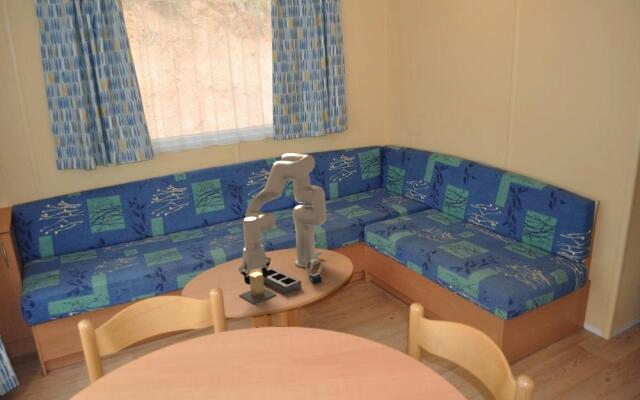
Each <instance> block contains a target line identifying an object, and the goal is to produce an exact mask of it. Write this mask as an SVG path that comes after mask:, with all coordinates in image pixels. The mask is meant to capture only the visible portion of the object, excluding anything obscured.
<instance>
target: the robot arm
mask: <svg viewBox="0 0 640 400" xmlns="http://www.w3.org/2000/svg"><path fill="white" fill-rule="evenodd" d="M315 165H316V161H315V158H314V157H313V155H310V154H309V153H307V154H306V153H296V152H295V153H292V152H290V153H288V152H287V153H284V154H283V155H282V156H281V158H280V160H277V161H275V162H274V163H273V164H272V166H271V169H270V172H269V174H268V177H267V180H266V182H265V186H264V188H263V189H262V190H261V191H260V192H259V193H258V194H256V195H255V197H253V198H252V200H251V201H250V202H249V204H248V207H247V209H246V212H245V215H244V216H245V217H244V219H243V220H242V229H243V238H244V239H243V240H244V248H243V250H242V264H241V265H240V266H239V267H238V269H237V270H238V271H239V273H240V274H241V275H242V276H243V278H244V279H243V281H244V283H245V284H247V285H248V286H250V276H249V274H251V272H254V271H256V270H258V269H260V268H261V267H262V270H261V271H262V274H263V277H265V278H267V274H268V273H267V269H269V266H270V264H271V262H272V258H271V257H269V256H266V251H265V247H264V245H263V242H265V241H264V239H262V232H265V231H269V230H271V229H273V228H274V226H275V225H276V223H277V222H276V221H277V220H276V216H275V215H273V214H272V213H269V212H262V211H260V209H261V208H262V207H263V206H264V205H265V204H266V203H268V202H272V201H273V200H277V199H278V198H280V197H281V196H282V194H283V192H284V189H285V187H286V185H287V184H286V183H287V181H288V180H289V181H292V185H293V187H292V188H293V196H294V197H293V198H294V200H295V202H297V203H299V204H298V205H296V206H295V207H294V208H293V209H292V218H293V222H294V228H295V242H296V243H295V245H296V259H295V260H294V265H295V266H297V267H300V268H306V265H307V263H308V261H310V260H312V259H318V257H320V256H322V254H323V252H322V251H316V248H315V247H316V245H315V243H316V242H315V229H314V227H313V226H322V225H324V224H325V222H326V219H327V205H326V195H325V194H326V193H325V191H324V189H323V187H321V186H318V185H313V184H311V178H310V174H309V173H311V172H312V171H313V170H314V168H315ZM300 203H301V204H300ZM318 264H319V261H315V262H314V264H313V267H314V266H317V265H318Z"/></svg>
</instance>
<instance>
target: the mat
mask: <svg viewBox="0 0 640 400" xmlns="http://www.w3.org/2000/svg"><path fill="white" fill-rule="evenodd" d="M264 294H265V295H262V296H260V297H257V298H256V297H254V296H253V295H251V289H250V290H247V291H245V292H243V293H240V294H239V297H240V298H242V299H244V300H246V302H249V303H250V304H252V305H257V304H259V303H262V302H264V301H267V300H269V299H272V298H273V297H276V296H277V294H276V293H274V292H272V291H270V290H269V289H267V288H265V287H264Z"/></svg>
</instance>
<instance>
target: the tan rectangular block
mask: <svg viewBox="0 0 640 400" xmlns="http://www.w3.org/2000/svg"><path fill="white" fill-rule="evenodd" d="M259 272H260V271H255V272H252V273H249V275H248V276H250V285H249V287H250V290H251V295H253V296H254V297H256V298H257V297H260V296H262V295H265V294H264V288H265V284H264V282H263V274H261V273H259Z"/></svg>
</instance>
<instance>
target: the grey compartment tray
mask: <svg viewBox="0 0 640 400" xmlns="http://www.w3.org/2000/svg"><path fill="white" fill-rule="evenodd" d="M258 272H259V273H261V274H262V272H261V271H258ZM267 273H268V274H267V278H265V277H263V282H264V285H266V286H267V287H270V288H272V289H274V290H276V291H278V292H280V293H282V294H284V295H289V294H292V293H294V292H296V291H298V290H301V289H302V280H300V279H298V278H297V277H295V276H292V275H290V274H287V273H286V272H283V271H280V270H278V269H276V268H274V267H270V268H268V269H267Z"/></svg>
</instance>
